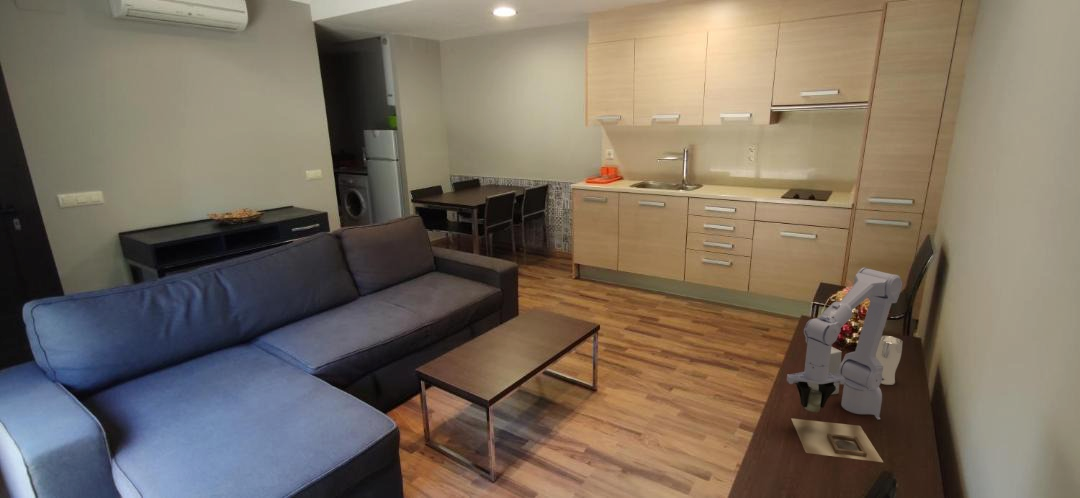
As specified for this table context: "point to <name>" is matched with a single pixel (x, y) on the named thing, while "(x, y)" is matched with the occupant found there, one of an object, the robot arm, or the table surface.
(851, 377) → the robot arm
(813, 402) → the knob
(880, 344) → the beer glass
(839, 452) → the board
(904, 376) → the table surface
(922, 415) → the table surface
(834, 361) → the skincare box
